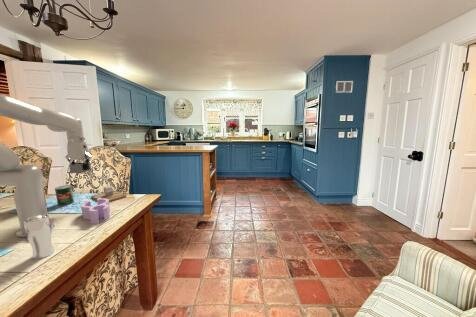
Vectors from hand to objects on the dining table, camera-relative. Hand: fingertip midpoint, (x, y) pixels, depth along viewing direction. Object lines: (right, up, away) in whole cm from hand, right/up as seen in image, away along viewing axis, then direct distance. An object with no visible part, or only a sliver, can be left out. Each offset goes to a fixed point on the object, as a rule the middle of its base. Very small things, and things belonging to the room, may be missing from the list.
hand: (80, 169), depth 120 cm
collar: (0, -1, 0) cm, 1 cm away
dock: (+7, -20, +16) cm, 27 cm away
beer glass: (+19, -31, -42) cm, 55 cm away
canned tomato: (-15, -22, +7) cm, 28 cm away
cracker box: (-30, -23, +4) cm, 38 cm away
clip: (+18, -25, -10) cm, 32 cm away
